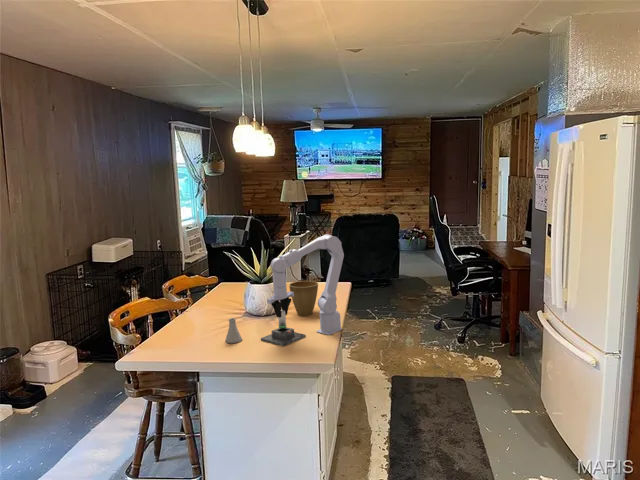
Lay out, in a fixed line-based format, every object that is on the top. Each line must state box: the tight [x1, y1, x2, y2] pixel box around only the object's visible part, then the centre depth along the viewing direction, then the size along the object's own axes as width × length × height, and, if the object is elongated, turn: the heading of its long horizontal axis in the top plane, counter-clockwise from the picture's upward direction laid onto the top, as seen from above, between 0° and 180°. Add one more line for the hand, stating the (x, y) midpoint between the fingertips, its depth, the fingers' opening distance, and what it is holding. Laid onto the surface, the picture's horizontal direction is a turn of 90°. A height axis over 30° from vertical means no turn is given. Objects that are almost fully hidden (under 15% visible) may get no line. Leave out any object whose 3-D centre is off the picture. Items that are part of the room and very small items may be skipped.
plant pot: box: [288, 280, 319, 317], centre depth 248 cm, size 15×15×16 cm
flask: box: [225, 317, 243, 344], centre depth 214 cm, size 7×7×10 cm
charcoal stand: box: [260, 326, 307, 347], centre depth 213 cm, size 14×14×4 cm
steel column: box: [277, 308, 287, 329], centre depth 212 cm, size 3×3×8 cm
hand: (281, 315), depth 212 cm, fingers closed on steel column, 3 cm apart
